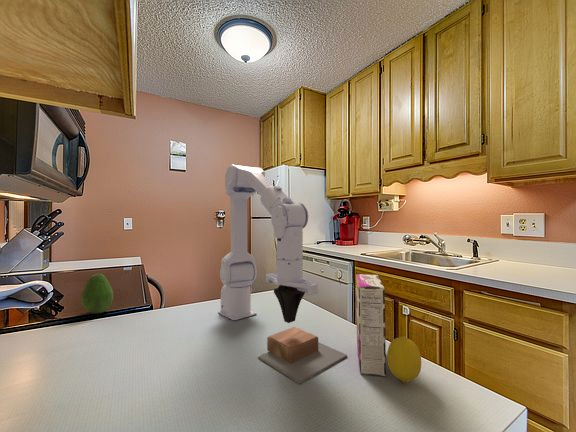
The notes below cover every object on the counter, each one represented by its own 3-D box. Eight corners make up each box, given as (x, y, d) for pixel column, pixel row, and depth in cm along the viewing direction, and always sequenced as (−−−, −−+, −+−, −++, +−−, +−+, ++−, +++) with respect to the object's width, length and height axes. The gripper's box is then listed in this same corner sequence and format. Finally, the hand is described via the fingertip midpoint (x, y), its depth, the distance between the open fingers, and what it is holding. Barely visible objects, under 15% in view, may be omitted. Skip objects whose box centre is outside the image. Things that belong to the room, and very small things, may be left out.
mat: (258, 358, 57) (258, 356, 57) (305, 338, 66) (305, 336, 66) (299, 384, 48) (299, 381, 48) (347, 356, 57) (347, 354, 57)
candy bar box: (355, 347, 62) (355, 273, 62) (379, 349, 61) (378, 274, 61) (358, 375, 51) (357, 285, 51) (386, 378, 50) (386, 286, 50)
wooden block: (267, 336, 59) (291, 348, 54) (294, 326, 65) (318, 336, 59) (267, 350, 59) (291, 363, 54) (294, 339, 65) (318, 350, 59)
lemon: (383, 373, 51) (382, 329, 51) (413, 373, 51) (413, 330, 51) (393, 391, 46) (393, 343, 46) (427, 392, 46) (427, 343, 46)
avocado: (98, 308, 89) (98, 270, 89) (119, 309, 87) (119, 271, 87) (74, 317, 81) (74, 276, 81) (96, 318, 79) (96, 277, 79)
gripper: (255, 256, 63) (255, 316, 63) (300, 264, 52) (300, 337, 52) (278, 254, 68) (278, 309, 67) (324, 260, 57) (324, 327, 57)
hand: (289, 321), depth 60 cm, fingers closed
